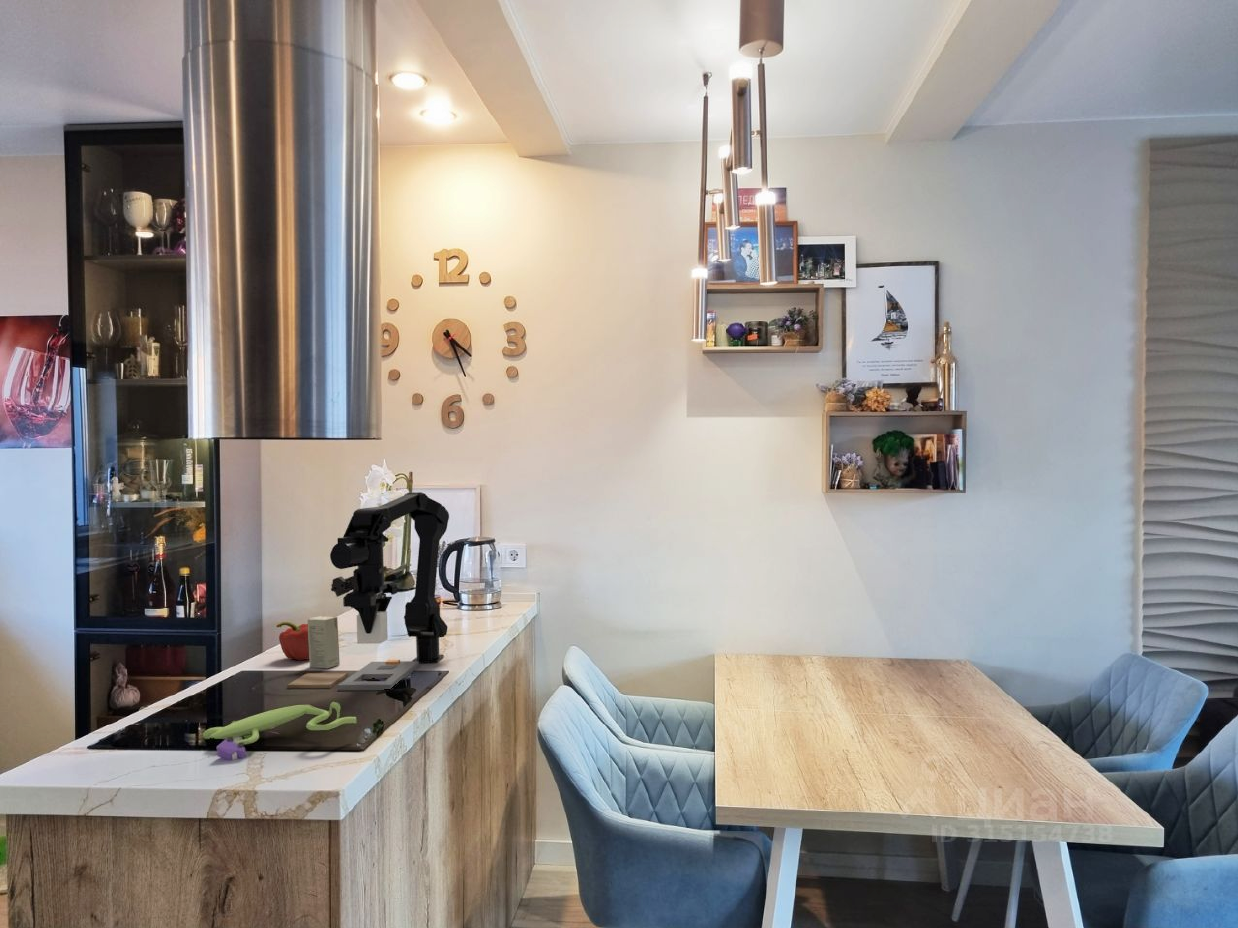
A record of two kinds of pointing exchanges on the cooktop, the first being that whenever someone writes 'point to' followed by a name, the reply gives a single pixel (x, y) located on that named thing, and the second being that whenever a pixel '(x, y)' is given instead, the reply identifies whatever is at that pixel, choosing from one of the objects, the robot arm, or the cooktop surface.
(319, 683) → the walnut coaster
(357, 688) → the grey slotted tray
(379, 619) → the block
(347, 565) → the robot arm
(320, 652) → the skincare box
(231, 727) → the figurine
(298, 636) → the vegetable
